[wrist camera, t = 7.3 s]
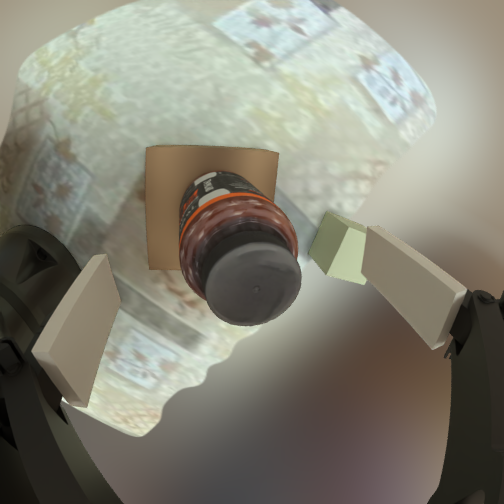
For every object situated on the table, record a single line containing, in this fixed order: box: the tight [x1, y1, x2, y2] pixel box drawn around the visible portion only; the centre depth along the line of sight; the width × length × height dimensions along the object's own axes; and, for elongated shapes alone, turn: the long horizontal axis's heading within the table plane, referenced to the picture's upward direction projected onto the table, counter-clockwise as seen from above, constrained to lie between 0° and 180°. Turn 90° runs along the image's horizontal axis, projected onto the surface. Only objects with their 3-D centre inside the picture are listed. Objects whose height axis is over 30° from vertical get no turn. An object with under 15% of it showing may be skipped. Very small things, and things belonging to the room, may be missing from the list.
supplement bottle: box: [179, 170, 301, 326], centre depth 15 cm, size 6×6×11 cm
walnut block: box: [145, 145, 279, 270], centre depth 23 cm, size 10×10×5 cm
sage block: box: [308, 211, 367, 285], centre depth 27 cm, size 5×5×5 cm
